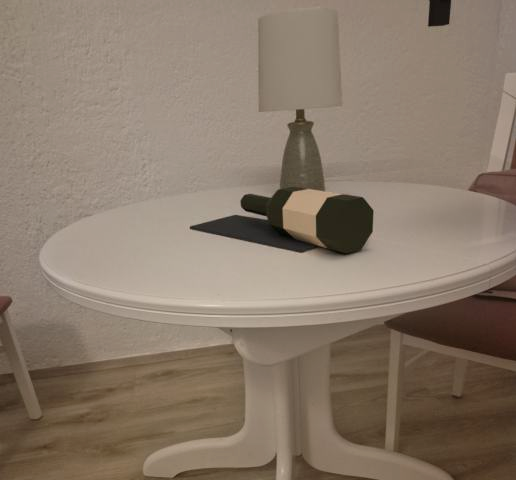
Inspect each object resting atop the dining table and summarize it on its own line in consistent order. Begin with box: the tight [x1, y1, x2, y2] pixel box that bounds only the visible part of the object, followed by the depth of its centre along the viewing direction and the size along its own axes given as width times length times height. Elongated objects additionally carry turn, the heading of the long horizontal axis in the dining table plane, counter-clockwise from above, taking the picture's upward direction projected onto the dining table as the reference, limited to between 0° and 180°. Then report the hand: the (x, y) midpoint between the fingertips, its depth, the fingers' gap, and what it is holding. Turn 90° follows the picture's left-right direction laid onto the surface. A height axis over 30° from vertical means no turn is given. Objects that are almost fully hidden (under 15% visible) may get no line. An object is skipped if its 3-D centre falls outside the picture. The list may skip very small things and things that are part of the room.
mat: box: [189, 214, 320, 253], centre depth 89 cm, size 30×12×1 cm, turn 43°
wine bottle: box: [239, 187, 374, 254], centre depth 82 cm, size 8×8×30 cm
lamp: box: [257, 7, 343, 192], centre depth 108 cm, size 19×19×37 cm
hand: (438, 25), depth 73 cm, fingers closed
